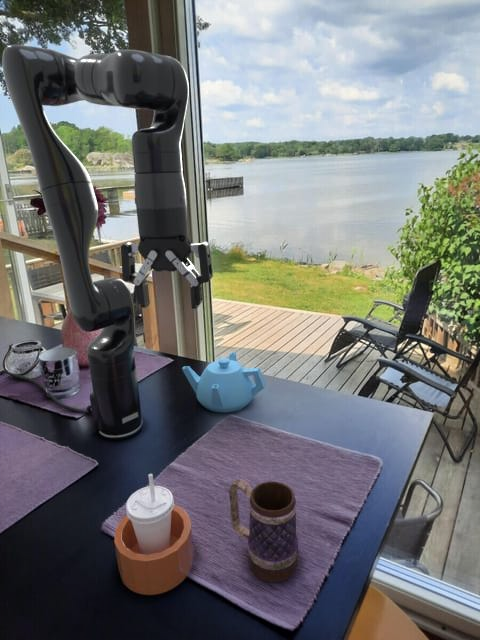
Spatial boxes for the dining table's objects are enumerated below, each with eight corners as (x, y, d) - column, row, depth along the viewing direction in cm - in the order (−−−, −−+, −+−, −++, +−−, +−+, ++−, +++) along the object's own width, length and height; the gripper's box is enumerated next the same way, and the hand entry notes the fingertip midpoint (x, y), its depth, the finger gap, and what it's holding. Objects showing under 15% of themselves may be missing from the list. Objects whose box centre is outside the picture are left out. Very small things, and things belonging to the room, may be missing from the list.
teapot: (213, 424, 97) (210, 380, 93) (182, 397, 109) (179, 357, 105) (269, 404, 104) (268, 362, 101) (235, 380, 117) (233, 343, 113)
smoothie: (169, 578, 59) (160, 493, 55) (125, 571, 61) (112, 488, 56) (184, 541, 65) (177, 461, 61) (144, 535, 67) (134, 457, 62)
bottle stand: (106, 589, 59) (100, 555, 57) (137, 530, 69) (132, 498, 67) (181, 600, 57) (177, 565, 56) (201, 537, 67) (199, 505, 65)
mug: (306, 556, 63) (308, 487, 59) (283, 594, 58) (282, 521, 54) (247, 527, 69) (244, 462, 65) (220, 559, 63) (216, 490, 59)
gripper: (213, 201, 69) (217, 301, 74) (127, 203, 71) (137, 299, 76) (200, 205, 62) (207, 315, 67) (106, 207, 64) (119, 313, 69)
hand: (170, 306), depth 72 cm, fingers open, 8 cm apart
